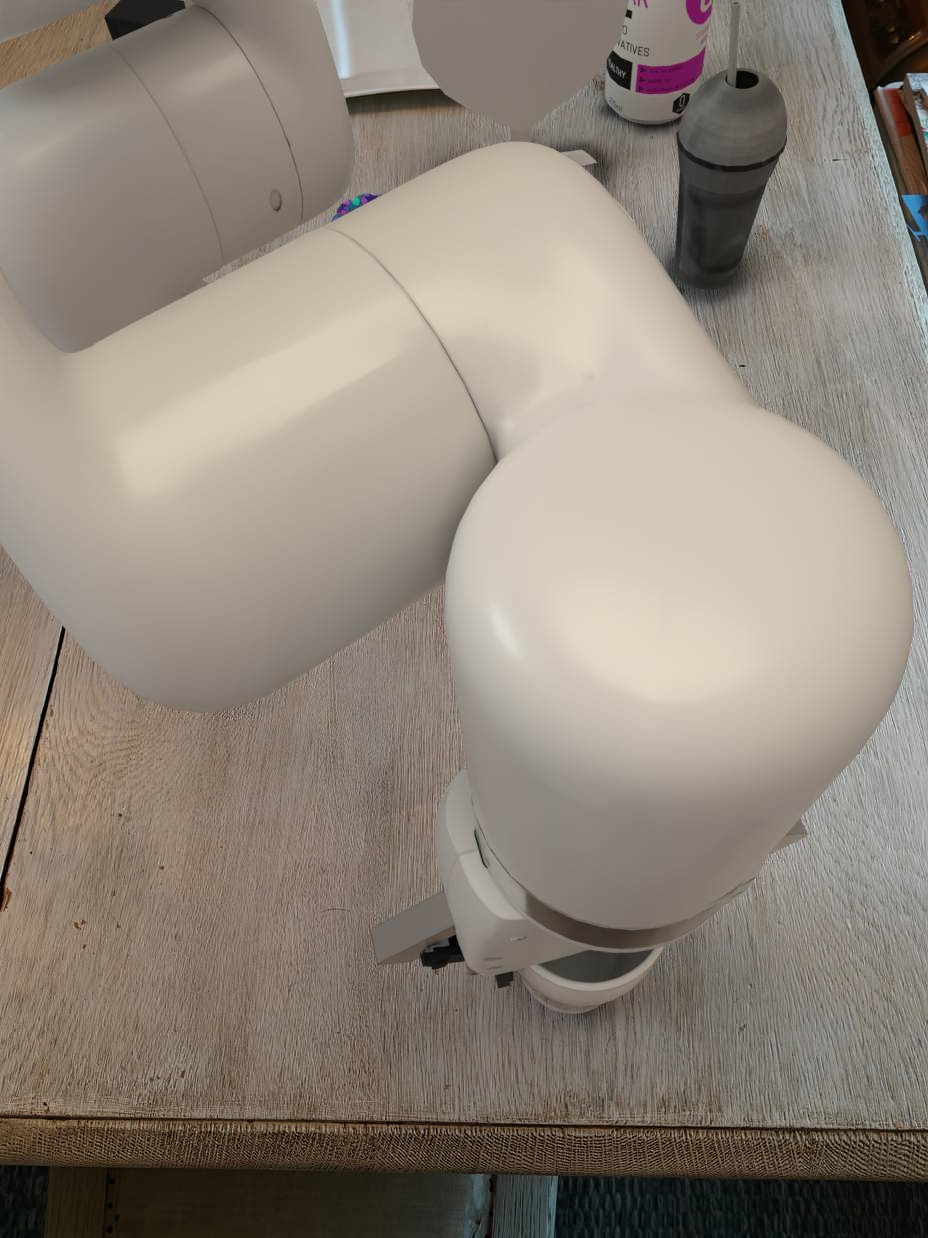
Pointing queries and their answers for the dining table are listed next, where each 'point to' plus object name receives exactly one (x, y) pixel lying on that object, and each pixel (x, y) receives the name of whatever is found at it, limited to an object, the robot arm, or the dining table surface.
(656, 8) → the supplement can
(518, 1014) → the dining table surface
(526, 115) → the heart sculpture
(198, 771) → the dining table surface
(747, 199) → the beverage cup
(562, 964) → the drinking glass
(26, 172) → the robot arm
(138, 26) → the digital camera
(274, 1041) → the dining table surface
